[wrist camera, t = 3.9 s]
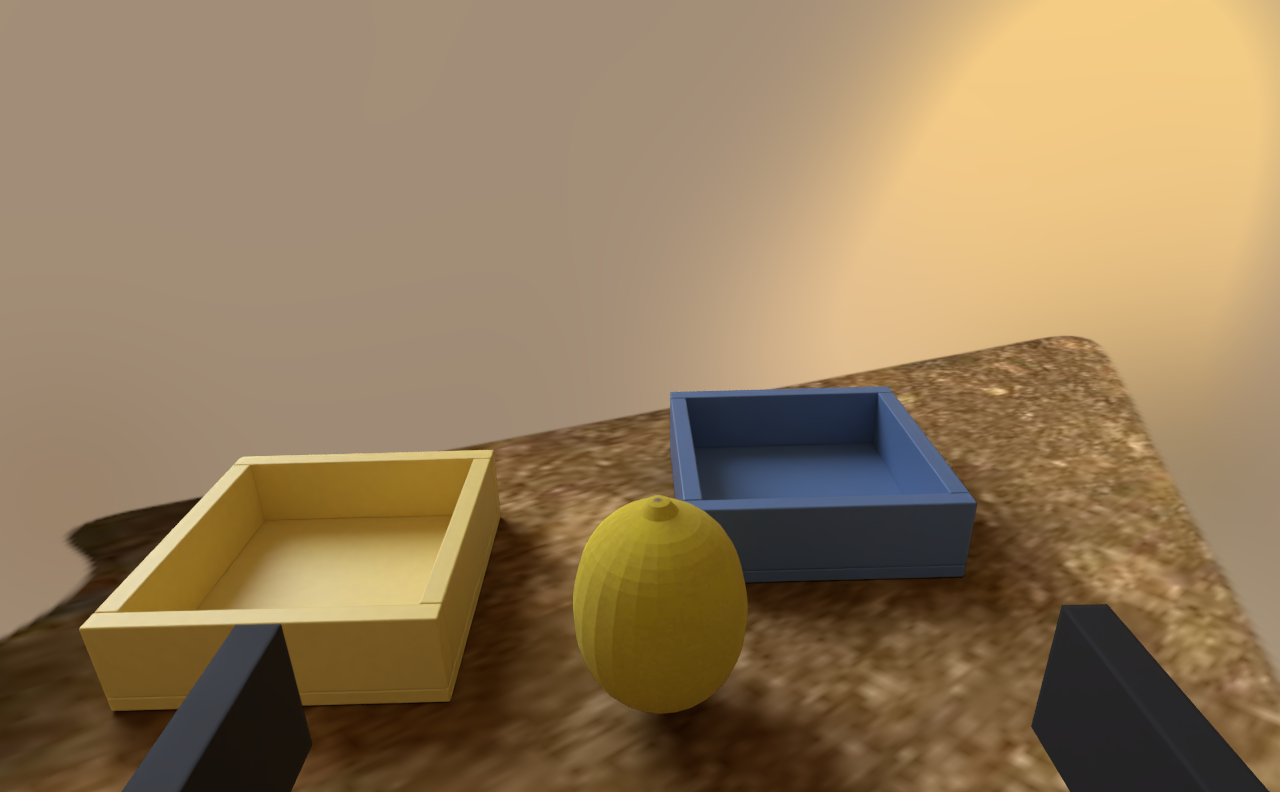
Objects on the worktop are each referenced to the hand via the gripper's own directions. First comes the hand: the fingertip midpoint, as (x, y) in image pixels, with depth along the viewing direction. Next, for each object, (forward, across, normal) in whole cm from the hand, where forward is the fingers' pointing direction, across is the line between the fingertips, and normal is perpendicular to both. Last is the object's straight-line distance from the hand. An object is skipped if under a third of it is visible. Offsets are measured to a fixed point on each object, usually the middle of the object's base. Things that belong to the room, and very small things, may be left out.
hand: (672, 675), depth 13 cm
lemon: (+10, 0, -11) cm, 14 cm away
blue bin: (+22, +7, -10) cm, 25 cm away
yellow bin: (+16, -13, -10) cm, 23 cm away
